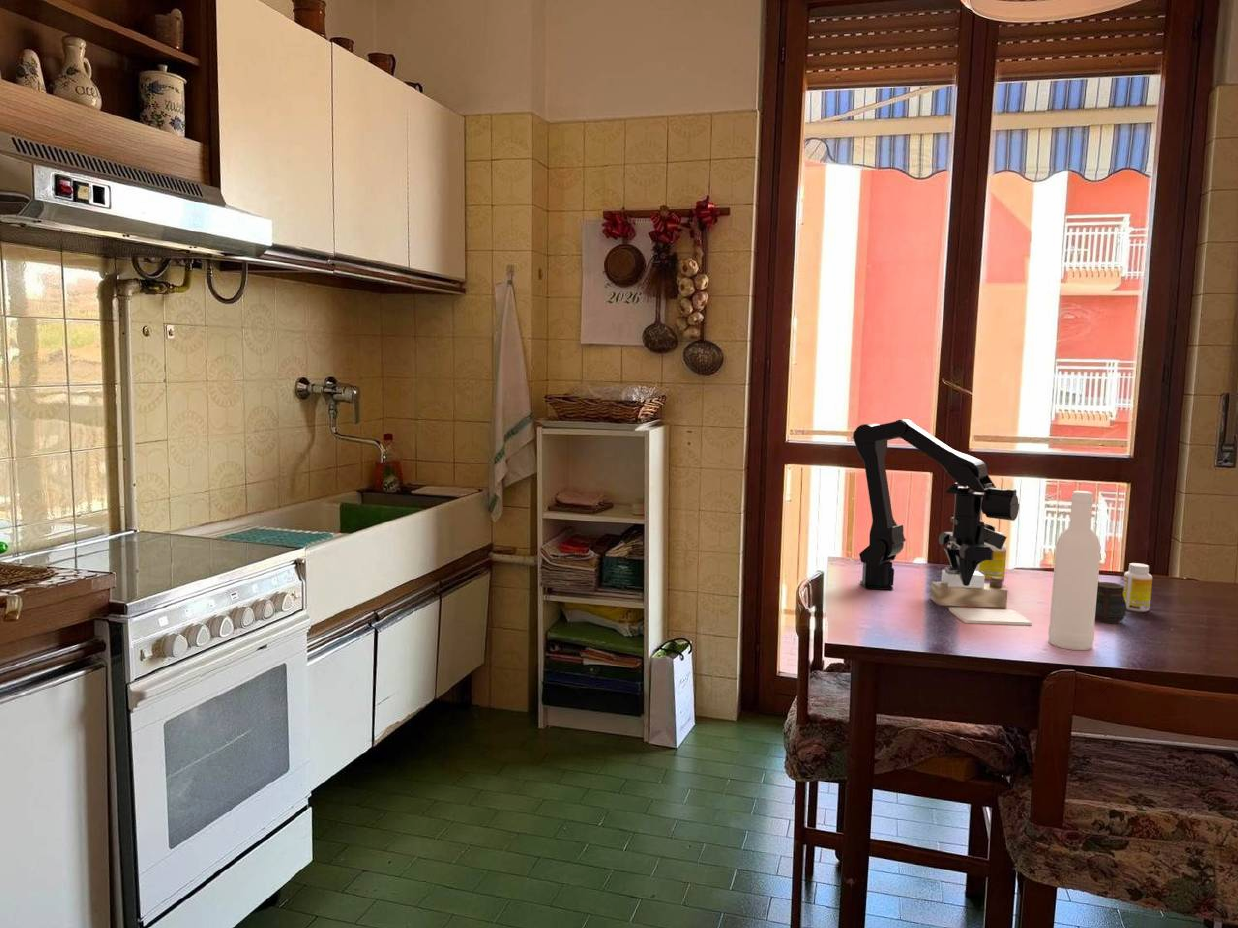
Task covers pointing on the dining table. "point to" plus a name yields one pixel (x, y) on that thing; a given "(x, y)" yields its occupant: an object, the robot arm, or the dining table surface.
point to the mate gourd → (1110, 602)
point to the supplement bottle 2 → (1137, 587)
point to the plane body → (971, 595)
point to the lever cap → (954, 580)
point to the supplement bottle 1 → (993, 564)
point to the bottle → (1075, 579)
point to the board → (990, 616)
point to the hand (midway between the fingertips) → (962, 582)
